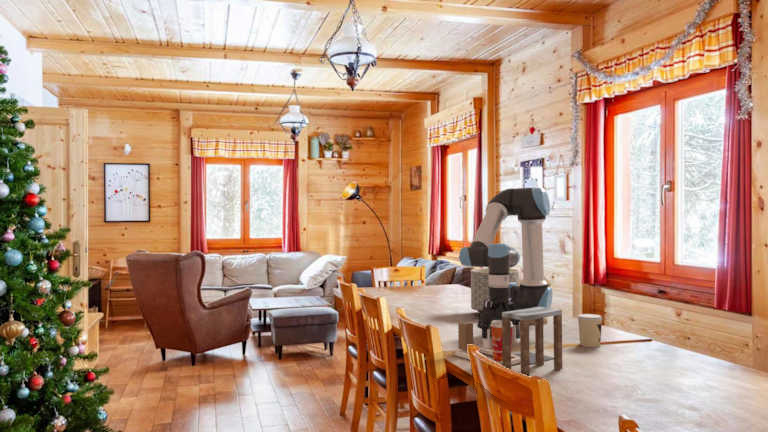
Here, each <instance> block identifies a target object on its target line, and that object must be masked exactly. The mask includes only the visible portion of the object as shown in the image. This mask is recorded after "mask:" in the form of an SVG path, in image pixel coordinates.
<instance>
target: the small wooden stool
mask: <svg viewBox="0 0 768 432" xmlns="http://www.w3.org/2000/svg"><path fill="white" fill-rule="evenodd" d="M562 312H563V310H562V309H557V308H551V307H550V308H545V307H533V308H526V309H520V310H514V311H507V312H502V360H503V366H505V367H506V368H509V369H511V370H512V365H511V355H512V348H511V319H510V318H512V319H517V320H520V322H519V328H520V337H519V338H520V340H519V341H520V342H519V343H520V347H519V348H520V353H521V363H520V374H521V373H522V374H525V375H527V376H530V375H531V373H530V372H531V371H530V367H531V364H530V362H529V352H530V324H529V320H533V319H535V325H534V328H535V329H534V332H535V333H534V336H535V337H534V339H535V340H534V341H535V345H534V346H535V351H534V352H535V355H536V364H535V365H536V366H544V365H545V361H544V356H545V354H544V351H545V350H544V325H543V318H544V317H546V318H548V317H552V318H553V322H552V323H553V358H554V359H553V370H555V369H557V370H556V371H561V370H560V369H562V370H563V313H562Z"/></svg>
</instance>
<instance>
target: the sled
mask: <svg viewBox="0 0 768 432" xmlns="http://www.w3.org/2000/svg"><path fill="white" fill-rule="evenodd" d="M457 325H458V326H457V327H458V331H457V332H458V335H457V336H458V349H456V350H452V356H455V357H459V358H463V359H467V360H470V359H469V357H468V354H469V353H467V344H473V345H474V322H469V321H462V322H458V324H457ZM478 347H479V349H480V352H479V353H482V354H485V355H489V356H493V349H490V348H486V347H481V346H478ZM514 355H515V354H511V366H513V365H516V364H521V357H518V356H514ZM492 360H493V361H494V359H492ZM495 362H496V363H499V364H501V365H503V361H501V362H498V361H495Z"/></svg>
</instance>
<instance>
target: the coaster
mask: <svg viewBox="0 0 768 432" xmlns="http://www.w3.org/2000/svg"><path fill="white" fill-rule="evenodd" d="M513 355H514V356H518V357H521V352H519V353H515V354H513ZM553 360H554V357H552V356H551V357H550V356H547V355H544V362H549V361H553ZM529 362H530V366H531V365H536V355H535V353H534V352H530V351H529Z"/></svg>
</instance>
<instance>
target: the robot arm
mask: <svg viewBox="0 0 768 432" xmlns="http://www.w3.org/2000/svg"><path fill="white" fill-rule="evenodd" d="M550 208H551V203H550V199H549V196H548V192H547V190H546V189H544V188H542V187H521V188H520V187H519V188H517V187H516V188H506V189H503V190H502V191H499V192H498V193H496V194H495V195H494V196H493V197H492V198H491V199H490V200H489V201H488V203H487V205H486V207H485V215H483V218H482V221H481V223H480V225H479V227H478V228H477V231H476V233H475V235H474V237H473V239H472V241H471V243H470V245H469V246H463V247H461V248H460V251H459V262H460V264H461V265H462V266H463V267H471V268H472V267H473V268H489V285H490V287H489V297H490V301H484V304H483V309H482V312H481V313H480V316H479V320H478V322H477V326H476V327H477V328H479V329H480V330H481V339H482V348H485V349H490V348H491V339H492V331H491V326H490V325H491V322H492V321H494V320H496V321H497V320H502V312H507V311H514V310H520V309H526V308H533V307H545V308H551V307H552V306H551V305H552V302H553V288H552V287H551V286H550V287H548V282H547V281H545V280H544V276H545V275H544V273H545V272H544V242H543V236H544V235H543V223H544V222H545V221H546V219H547V218H546V216H548V215H549V214H550V211H551V209H550ZM509 216H510V217H511V216H517V221H518V222H519V223H520V224H521V245H522V246H521V247H522V248H521V249H522V276H523V277H522V278H523V279H521V280H520V281H519V286H517V284H516V282H510V278H509V274H510V273H509V272H510V269H513V268H514V267H515V266H517V265H518V264H519V262H520V259H521V255H520V252H519V251H518V250H517V249H516V248H514V247H512V246H510V245H509V244H508V243H493V242H494V241H495V238H496V235H497V234H498V231H499V229H500V227H501V225H502V222H504V221H505V220H506V219H507V217H509ZM510 319H511V322H512V325H513V327H512V344H513V343H514V344H516V343H517V339H518V338H520V320H517V319H512V318H510Z"/></svg>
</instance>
